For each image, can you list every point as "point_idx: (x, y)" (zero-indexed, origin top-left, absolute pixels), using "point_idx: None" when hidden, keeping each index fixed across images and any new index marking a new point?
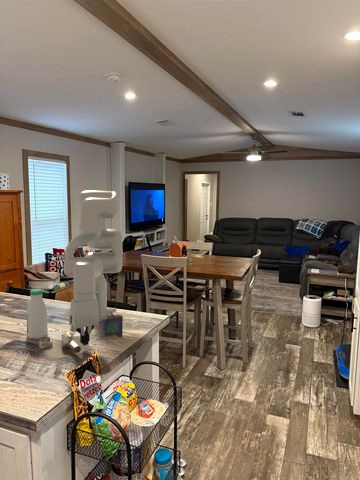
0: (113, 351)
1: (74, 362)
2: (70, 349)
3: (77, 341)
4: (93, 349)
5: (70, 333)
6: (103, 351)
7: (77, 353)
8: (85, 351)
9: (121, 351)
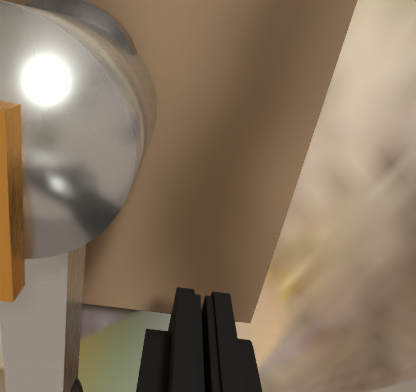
0: (364, 352)
1: None
2: None
3: (261, 43)
4: (249, 322)
5: (87, 116)
6: (319, 314)
7: (96, 303)
8: None
9: (395, 379)
